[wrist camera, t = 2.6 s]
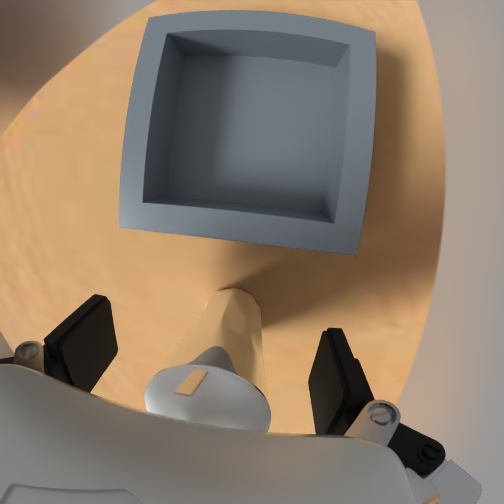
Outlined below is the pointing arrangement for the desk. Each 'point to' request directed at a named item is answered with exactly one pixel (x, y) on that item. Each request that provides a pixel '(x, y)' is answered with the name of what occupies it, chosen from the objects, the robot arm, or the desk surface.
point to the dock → (251, 129)
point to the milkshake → (217, 368)
